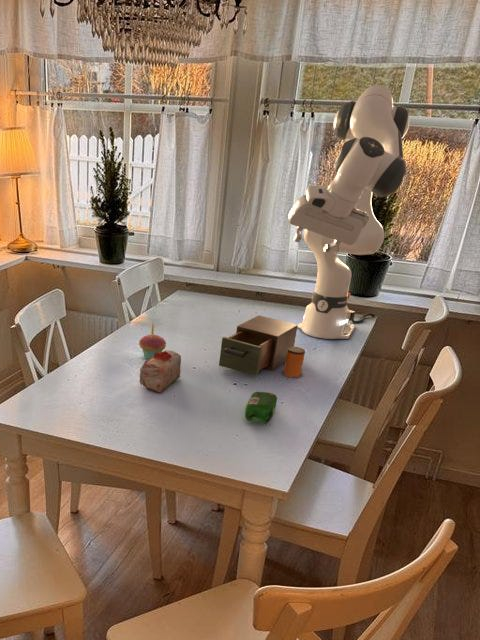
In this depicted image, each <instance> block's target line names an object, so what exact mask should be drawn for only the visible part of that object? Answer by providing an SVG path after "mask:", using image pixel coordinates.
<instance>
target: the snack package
mask: <svg viewBox="0 0 480 640" xmlns="http://www.w3.org/2000/svg"><path fill="white" fill-rule="evenodd" d="M277 401H278V396H277V394H276V393H273V392H267V391H258V390H257V391H254V392H253V393H252V394H251V395H250V397H249V399H248V401H247V403H246V404H245V405H246V406H245V412H244V417H245V420H246V421H247V422H252V423H261V424H268V423H270V421H271V420H272V419H273V416H274V412H275V409H276V406H277Z"/></svg>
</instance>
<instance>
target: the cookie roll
mask: <svg viewBox="0 0 480 640" xmlns="http://www.w3.org/2000/svg"><path fill="white" fill-rule="evenodd" d="M305 353H306V349H304V348H302V347H299V346H294V347H290V348H288V353H287V359H286V361H285V364H284V369H283V374H284V376H287V377H289V378H299V377H300V376H301V375H302V370H303V364H304V359H305Z"/></svg>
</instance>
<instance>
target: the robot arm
mask: <svg viewBox="0 0 480 640" xmlns="http://www.w3.org/2000/svg"><path fill="white" fill-rule="evenodd" d="M332 124H333V126H332V127H333V134H334V136H335V138H336V139H339V140H342V141H344V142H343V144H342V148H341V149H340V151H339V152H338V154H337V155H336V157H335V158H334V160H333V162H332V165H333V170H334V173H335V174H336V175H335V177H334V178H333V179H332V180H331V181H330V183H329V185H308V186H307V187H306V190H305V194H303V195H301V196H300V197H298V199H297V200H296V201H295V203H294V205H293V206H292V207H291V209H290V211H289V213H288V221H289V222H288V223H289V224H290V225H292V226H294V227H295V229H296V231H295V232H296V233H295V235H294V237H293V241H294V242H296V243H298V244H299V243H300V242H301V241H302V239H303V240H304V243H305V244H306V246H307V247H308V248H309V249H310V250H311V252H312V253H313V255H314V257H315V260H316V265H317V275H316V283H315V288H314V290H313V292H312V295H311V302H310V303H309V304H308V305H306V308H305V311H304V315H303V318H302V322H300V323H298V324H297V325H298V327H297V328H299V329H300V330H301V331H302V332H303V333H304V334H305V335H308V336H310V337H314V338H319V339H324V340H325V339H326V340H336V339H340V340H341V339H343V340H348V339H349V338H350V336H351V335H352V333H353V332H354V330H355V324H360V323H362V322H365V318H366V317H368V316H371V317H372V318H375V314H374V313H372V312H368V313H365V314H362V315H361V316H360V319H359V320H355V315H356V311H353V310H351V309H349V307H348V303H349V300H350V298H351V292H349V289H350V284H351V281H352V276H353V275H352V270H351V268H350V267H349V266H348V265H347V264H345V263H344V262H342V261H341V259H340V258H339V255H338V254H339V253H341V254H349V255H350V254H351V255H356V256H367V255H374V254H375V253H377V252H378V251H379V250H380V249H381V247H382V245H383V243H384V240H385V231H384V227H383V225H382V224H381V223H380V222H379V220H377V218H376V216H375V214H374V211H373V206H372V198H373V194H375V195H376V196H378V197H379V198H383V197H386V196H390V195H393V194H394V193H396V192H397V191H398V190H399V188H400V187H401V185H402V183H403V182H404V180H405V178H406V174H407V163H406V160H405V159H404V151H403V138H404V137H405V136H406V134H407V132H408V131H409V127H410V112H409V110H408V108H406V107H405V106H402V105H394V99H393V94H392V92H391V90H390V89H389V88H388V87H387V86H385V85H382V84H373V85H371V86H369V87H368V88H366V89H364V91H363V92H362V93H361V95H360V96H359V97H358V98H357V100H356V101H355V100H354V99H352V100H350V101H348V102H345V103H343V104H342V105H340V106H339V108H338V110H337V111H336V113H335V115H334V118H333V123H332ZM300 232H302V233H303V237H302V234H301V233H300Z"/></svg>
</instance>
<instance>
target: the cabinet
mask: <svg viewBox="0 0 480 640" xmlns="http://www.w3.org/2000/svg"><path fill="white" fill-rule="evenodd" d="M298 328H299V327H298V324H295V323H292V322H286V321H284V320H280V319H275V318H271V317H267V316H263V315H256V316H255V317H253V318H251V319H249V320H246V321H244V322H243V323H241V324H238V325H237V326H236V330H235V331H236V333H238V332H240V331H242V330H243V331H247V332H251V333H255V334H259V335H263V336H266V337H270V338H274V345H273V351H272V357H271V363H270V364H269V365H268V366H266V367H264V368H263V369H266V370H269V371H273V370H274V369H276V368H277V367H279V366H280V365H282V364H283V363H286V359H287V353H288V348H290V347H295V343H296V337H297V332H298ZM236 333H235V334H236Z"/></svg>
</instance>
